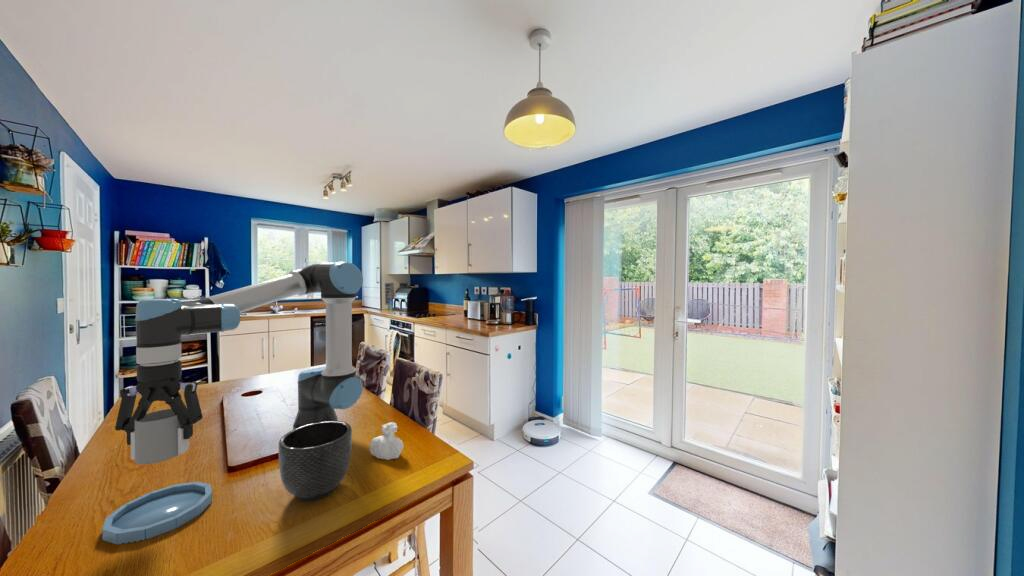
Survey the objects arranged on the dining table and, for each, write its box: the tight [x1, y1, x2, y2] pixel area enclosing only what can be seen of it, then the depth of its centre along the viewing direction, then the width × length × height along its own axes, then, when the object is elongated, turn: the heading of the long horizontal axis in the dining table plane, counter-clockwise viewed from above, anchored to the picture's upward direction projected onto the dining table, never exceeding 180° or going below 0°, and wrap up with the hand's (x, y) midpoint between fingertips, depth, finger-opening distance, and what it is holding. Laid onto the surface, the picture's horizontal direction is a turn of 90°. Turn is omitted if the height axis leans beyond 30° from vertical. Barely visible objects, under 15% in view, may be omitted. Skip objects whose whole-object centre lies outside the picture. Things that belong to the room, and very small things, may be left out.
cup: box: [134, 408, 182, 466], centre depth 81 cm, size 8×8×10 cm
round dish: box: [101, 481, 213, 545], centre depth 81 cm, size 18×18×2 cm
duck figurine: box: [369, 421, 404, 461], centre depth 110 cm, size 12×8×11 cm
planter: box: [278, 420, 353, 503], centre depth 90 cm, size 17×17×16 cm
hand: (161, 454), depth 81 cm, fingers closed on cup, 8 cm apart
